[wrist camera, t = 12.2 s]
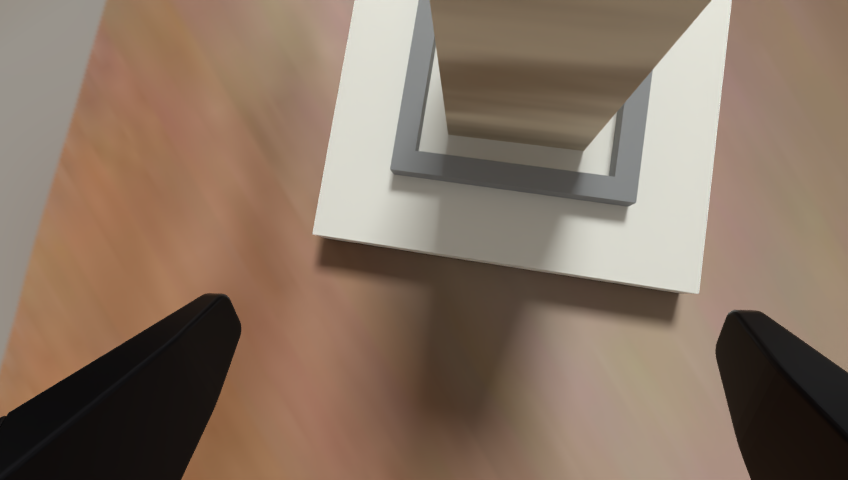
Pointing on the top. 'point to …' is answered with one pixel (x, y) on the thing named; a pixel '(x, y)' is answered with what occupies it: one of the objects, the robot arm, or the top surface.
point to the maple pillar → (549, 63)
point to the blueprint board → (523, 164)
